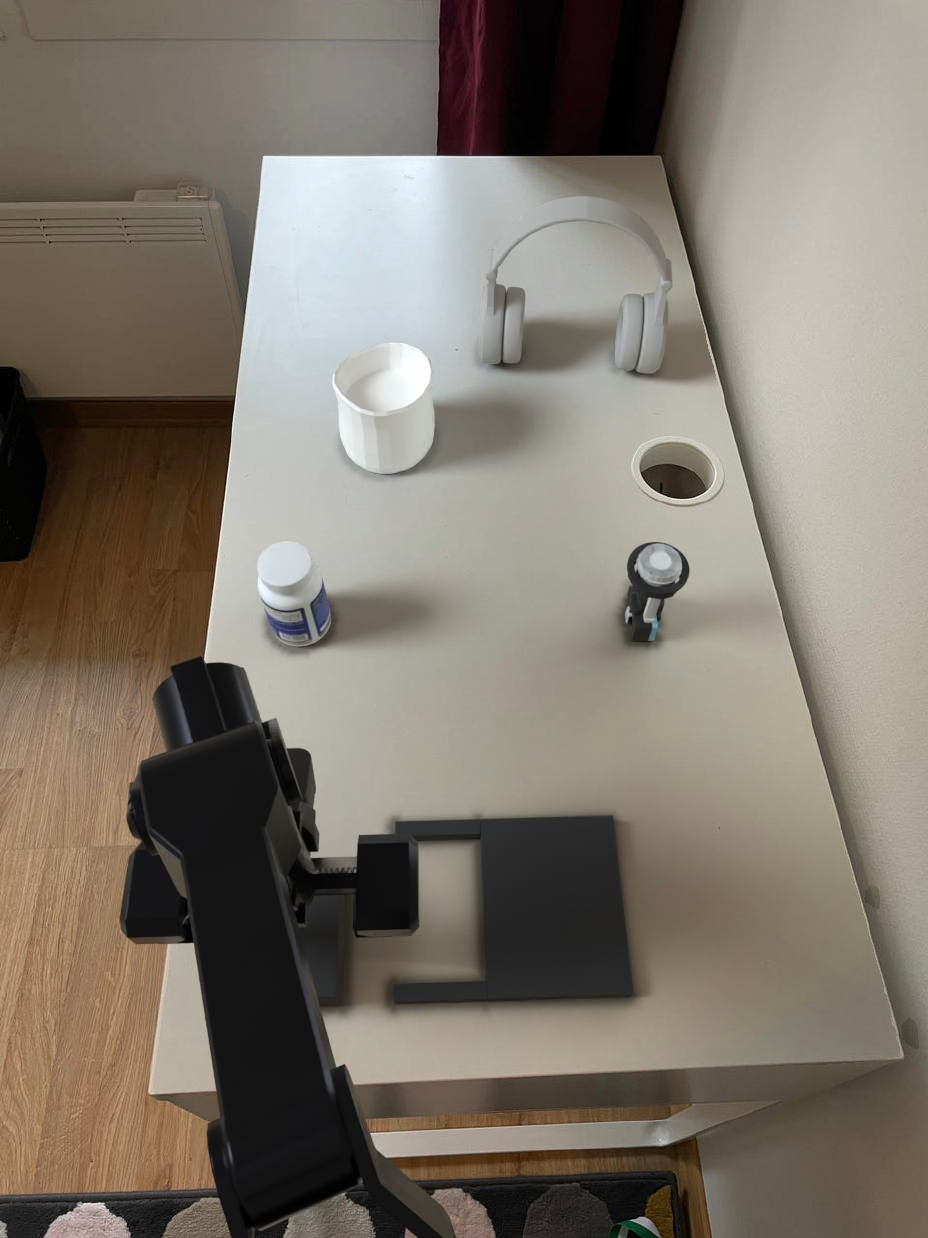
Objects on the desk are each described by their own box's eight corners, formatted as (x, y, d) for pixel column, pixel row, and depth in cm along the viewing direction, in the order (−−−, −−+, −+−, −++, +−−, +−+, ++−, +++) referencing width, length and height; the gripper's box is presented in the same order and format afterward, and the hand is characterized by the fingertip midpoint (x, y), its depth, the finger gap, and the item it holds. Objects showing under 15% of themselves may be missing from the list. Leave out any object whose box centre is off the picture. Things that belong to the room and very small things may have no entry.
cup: (326, 460, 100) (314, 393, 92) (371, 396, 105) (363, 327, 96) (407, 490, 98) (403, 425, 90) (449, 424, 103) (449, 356, 94)
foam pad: (342, 1006, 72) (336, 997, 69) (262, 1009, 72) (252, 999, 69) (346, 875, 78) (341, 860, 74) (272, 877, 77) (263, 862, 74)
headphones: (655, 336, 110) (690, 184, 93) (657, 390, 105) (694, 240, 89) (481, 326, 110) (485, 173, 94) (476, 379, 106) (479, 228, 89)
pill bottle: (309, 586, 92) (293, 524, 83) (344, 626, 90) (332, 566, 81) (258, 618, 90) (238, 558, 81) (293, 660, 88) (275, 602, 79)
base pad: (630, 997, 73) (633, 994, 72) (394, 1004, 73) (393, 1002, 71) (610, 820, 80) (612, 815, 79) (395, 826, 80) (395, 821, 79)
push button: (608, 585, 92) (624, 523, 84) (663, 584, 92) (685, 522, 84) (615, 645, 89) (633, 587, 80) (673, 644, 89) (696, 586, 80)
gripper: (413, 723, 60) (421, 808, 73) (114, 731, 60) (177, 815, 73) (414, 902, 54) (423, 959, 68) (83, 912, 54) (158, 968, 67)
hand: (293, 919), depth 69 cm, fingers open, 9 cm apart
